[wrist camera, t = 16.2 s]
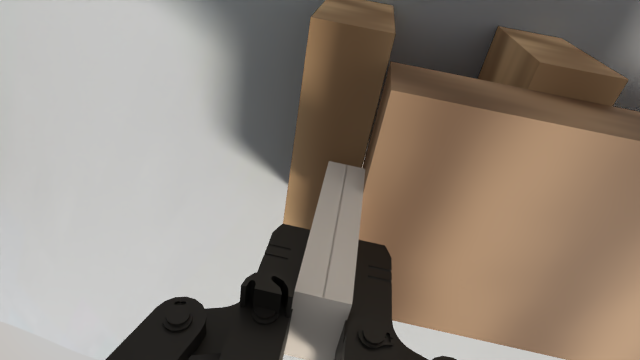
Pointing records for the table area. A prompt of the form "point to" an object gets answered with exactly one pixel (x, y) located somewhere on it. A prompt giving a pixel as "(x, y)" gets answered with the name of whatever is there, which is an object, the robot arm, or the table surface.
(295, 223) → the bed
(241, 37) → the table surface
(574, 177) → the slab
